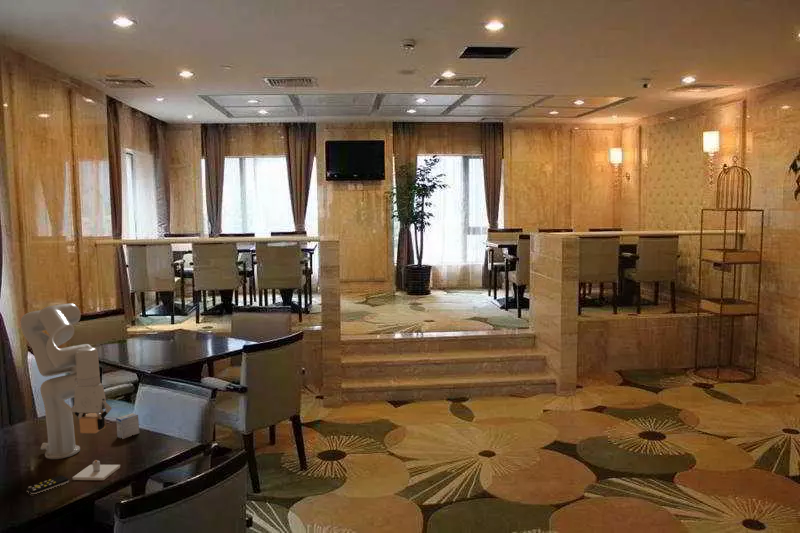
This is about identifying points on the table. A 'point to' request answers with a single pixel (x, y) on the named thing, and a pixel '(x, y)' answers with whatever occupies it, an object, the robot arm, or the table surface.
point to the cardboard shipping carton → (89, 423)
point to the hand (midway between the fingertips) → (92, 428)
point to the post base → (98, 474)
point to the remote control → (48, 484)
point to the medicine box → (127, 425)
